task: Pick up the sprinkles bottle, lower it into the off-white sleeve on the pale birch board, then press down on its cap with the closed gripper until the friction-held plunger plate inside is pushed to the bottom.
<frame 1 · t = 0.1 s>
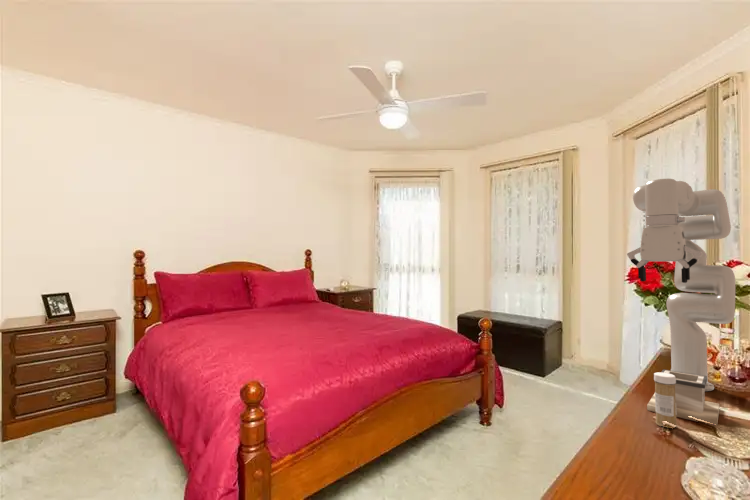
hand: (663, 281, 109), 37 cm above the table, tool pointing down, fingers open, 9 cm apart
sprinkles bottle: (666, 426, 99), on the table
collar: (683, 409, 109), on the table
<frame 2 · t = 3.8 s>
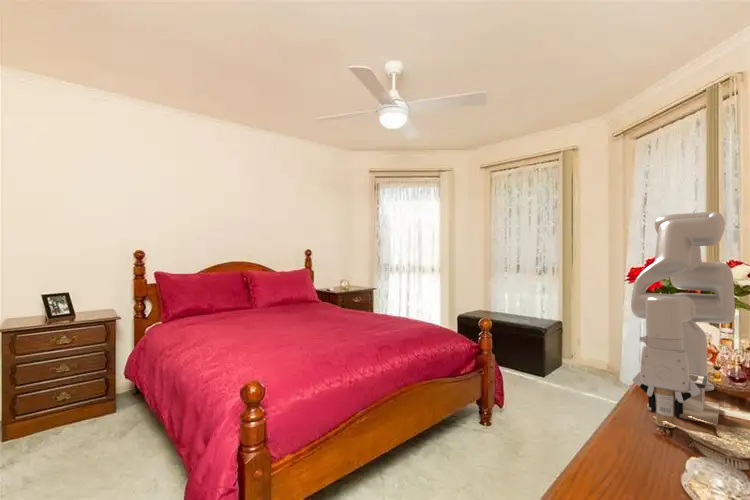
hand: (665, 412, 99), 3 cm above the table, tool pointing down, fingers closed on sprinkles bottle, 4 cm apart
sprinkles bottle: (666, 426, 99), on the table, touching gripper
everything else where it was.
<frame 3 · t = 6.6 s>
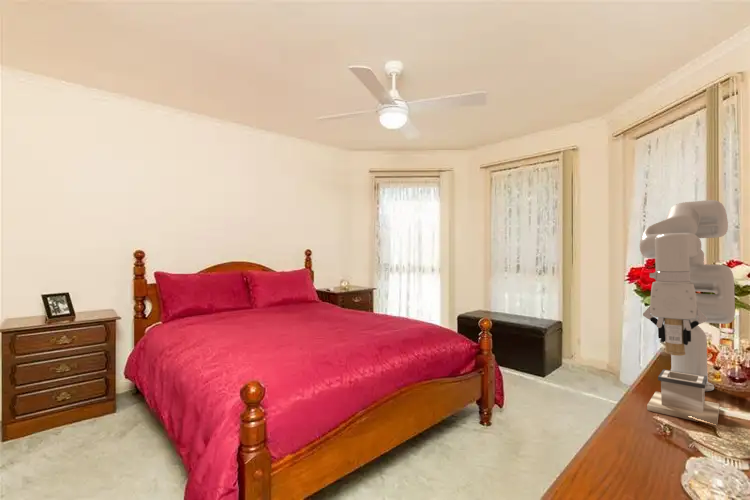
hand: (674, 341, 106), 20 cm above the table, tool pointing down, fingers closed on sprinkles bottle, 4 cm apart
sprinkles bottle: (674, 354, 106), point 17 cm above the table, touching gripper
everything else where it was.
when the fingers open (11 cm above the table, at t = 9.3 s): sprinkles bottle drops 5 cm, resting on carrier.
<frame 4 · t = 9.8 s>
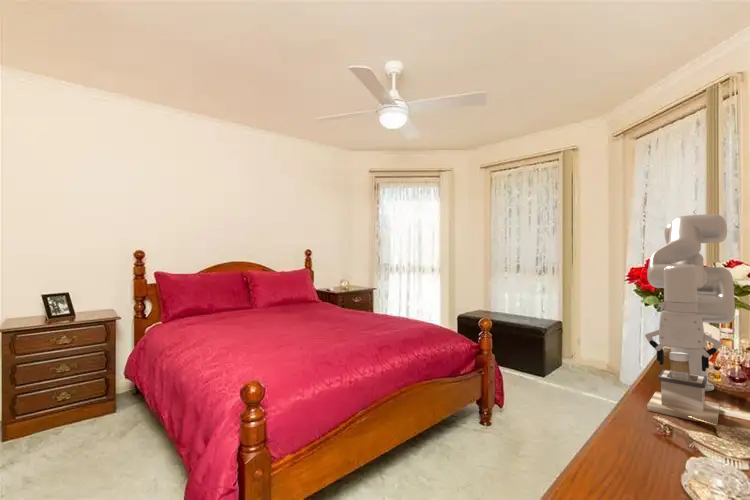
hand: (682, 366, 110), 12 cm above the table, tool pointing down, fingers open, 9 cm apart
sprinkles bottle: (682, 400, 110), point 2 cm above the table, touching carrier
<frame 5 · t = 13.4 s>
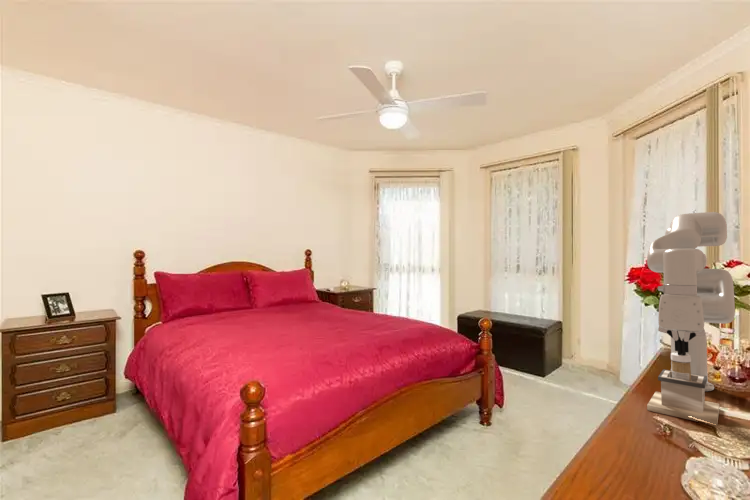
hand: (681, 354, 110), 16 cm above the table, tool pointing down, fingers closed
sprinkles bottle: (682, 401, 110), point 2 cm above the table, touching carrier, gripper
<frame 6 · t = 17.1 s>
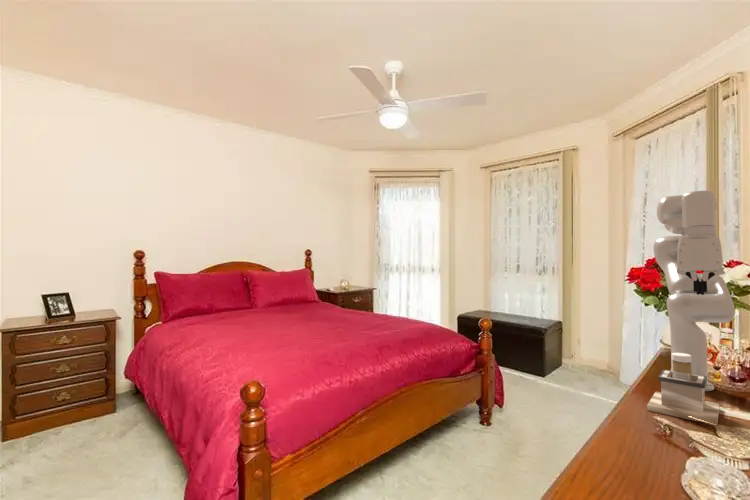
hand: (700, 294, 112), 33 cm above the table, tool pointing down, fingers closed
sprinkles bottle: (682, 401, 110), point 2 cm above the table, touching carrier
everything else where it was.
at the end: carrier slide at -0.1 cm; sprinkles bottle 0.2 cm off-centre on the collar, point 2.3 cm above the collar's base; sprinkles bottle tilted 1° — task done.
